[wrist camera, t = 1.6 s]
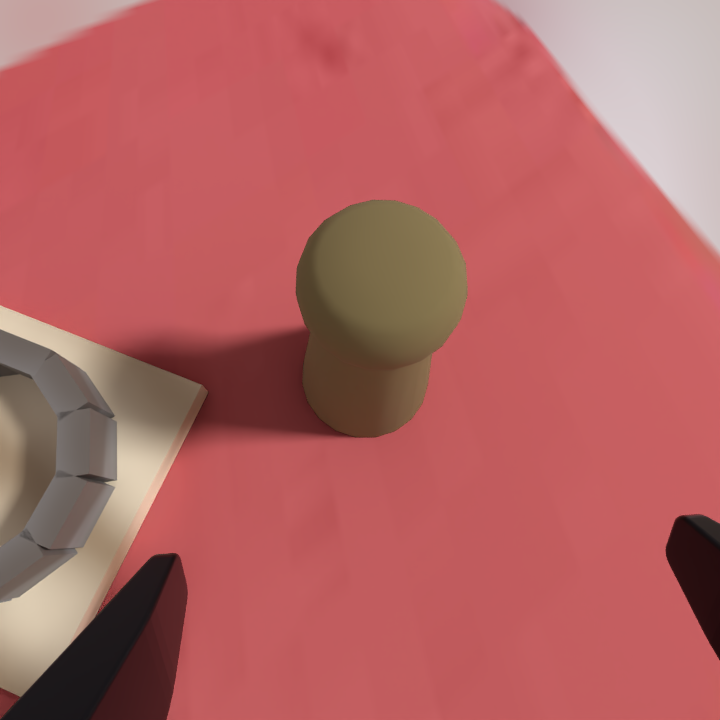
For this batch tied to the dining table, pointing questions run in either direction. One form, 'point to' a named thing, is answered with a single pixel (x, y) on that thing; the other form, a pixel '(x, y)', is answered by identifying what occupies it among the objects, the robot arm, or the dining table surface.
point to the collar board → (73, 480)
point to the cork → (376, 313)
